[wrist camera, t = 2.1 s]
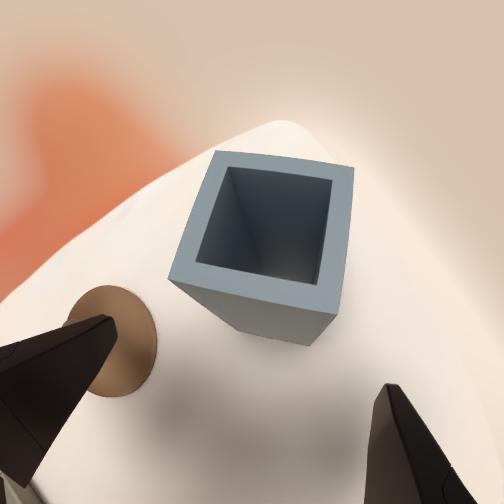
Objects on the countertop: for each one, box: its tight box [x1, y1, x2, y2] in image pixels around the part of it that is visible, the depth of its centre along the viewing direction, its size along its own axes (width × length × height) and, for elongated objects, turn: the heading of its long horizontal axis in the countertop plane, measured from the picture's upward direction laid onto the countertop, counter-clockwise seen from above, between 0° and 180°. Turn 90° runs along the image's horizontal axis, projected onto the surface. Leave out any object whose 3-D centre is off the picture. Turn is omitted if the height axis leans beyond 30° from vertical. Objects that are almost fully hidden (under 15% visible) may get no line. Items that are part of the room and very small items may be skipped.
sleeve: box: [168, 150, 354, 346], centre depth 14 cm, size 5×5×12 cm
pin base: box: [62, 285, 157, 397], centre depth 18 cm, size 9×9×5 cm
